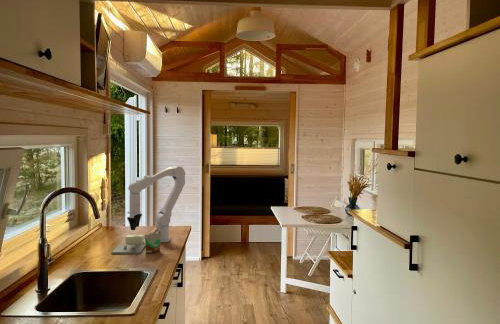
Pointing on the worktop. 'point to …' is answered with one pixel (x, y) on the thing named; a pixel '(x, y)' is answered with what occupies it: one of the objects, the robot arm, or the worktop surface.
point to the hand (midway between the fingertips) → (134, 228)
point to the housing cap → (134, 239)
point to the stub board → (128, 249)
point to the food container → (153, 242)
